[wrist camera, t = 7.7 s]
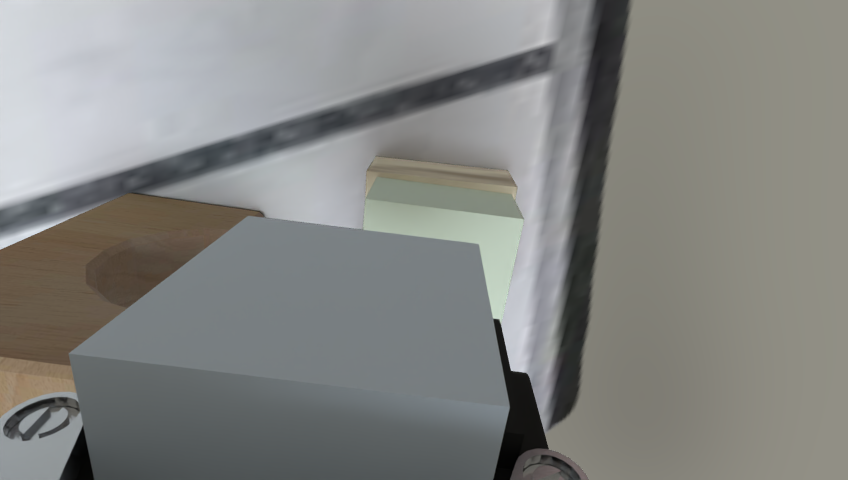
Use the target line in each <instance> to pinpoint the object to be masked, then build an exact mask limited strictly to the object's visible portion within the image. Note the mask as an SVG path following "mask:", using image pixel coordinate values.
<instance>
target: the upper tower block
mask: <svg viewBox="0 0 848 480" xmlns="http://www.w3.org/2000/svg"><path fill="white" fill-rule="evenodd" d="M523 223H524V218H523V216H522V214H521V212H520V210H519V208H518V206H517V204H516V202H515V200H514V198H513V196H512V194H506V193H499V192H491V191H483V190H476V189H468V188H460V187H453V186H445V185H437V184H430V183H422V182H415V181H407V180H399V179H392V178H384V177H377V178H376V179H375V181H374V183H373V185H372V187H371V189H370V191H369V193H368V194H367V196H366V198H365V208H364V220H363V230H369V231H377V232H385V233H394V234H402V235H410V236H418V237H426V238H435V239H443V240H451V241H459V242H467V243H475V244H479V248H480V253H481V258H482V264H483V269H484V274H485V279H486V285H487V290H488V295H489V300H490V306H491V311H492V316H493V319H499V320H500V323H501V322H502V318H503V313H504V309H505V304H506V300H507V295H508V290H509V286H510V281H511V277H512V272H513V268H514V263H515V259H516V254H517V250H518V245H519V241H520V236H521V232H522V227H523Z"/></svg>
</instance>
